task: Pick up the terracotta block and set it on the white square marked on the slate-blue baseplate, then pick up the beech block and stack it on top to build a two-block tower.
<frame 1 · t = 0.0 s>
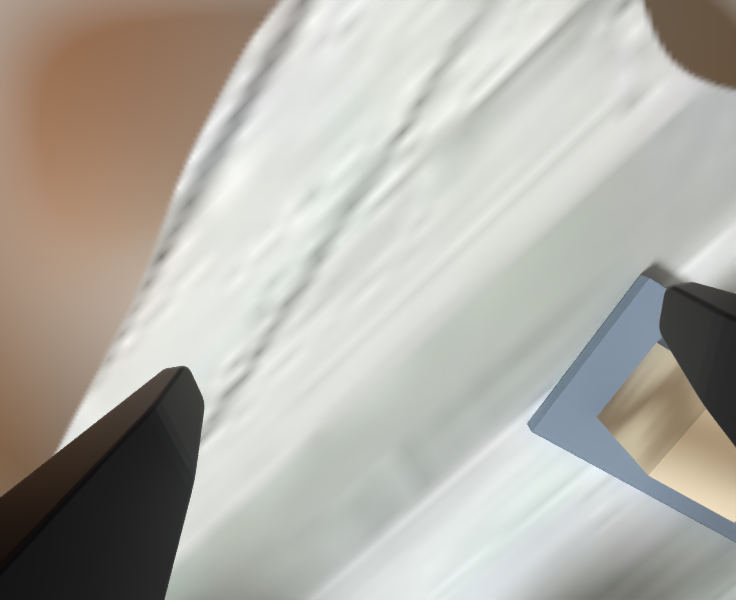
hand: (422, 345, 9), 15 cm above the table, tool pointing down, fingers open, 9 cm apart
beech block: (662, 402, 26), point 1 cm above the table, touching baseplate
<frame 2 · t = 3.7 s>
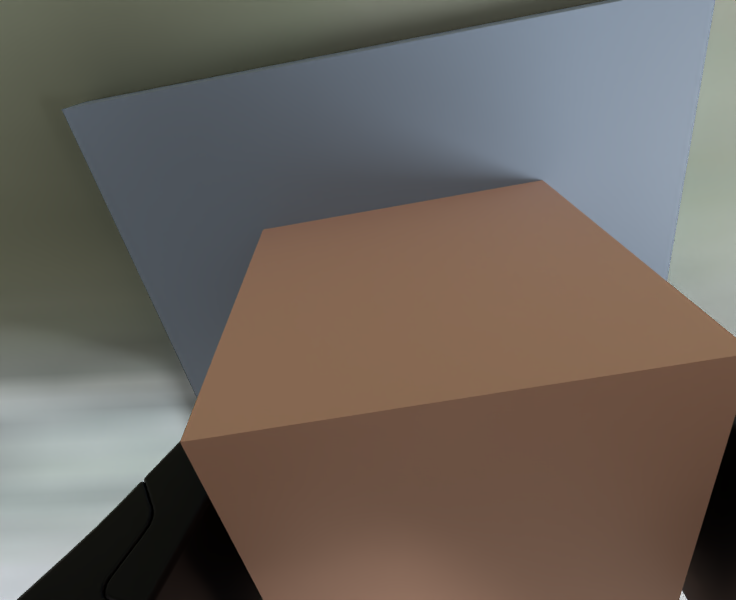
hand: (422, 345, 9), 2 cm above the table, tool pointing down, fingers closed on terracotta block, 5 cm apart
baseplate: (449, 562, 15), on the table
terracotta block: (417, 321, 10), point 1 cm above the table, touching baseplate, gripper
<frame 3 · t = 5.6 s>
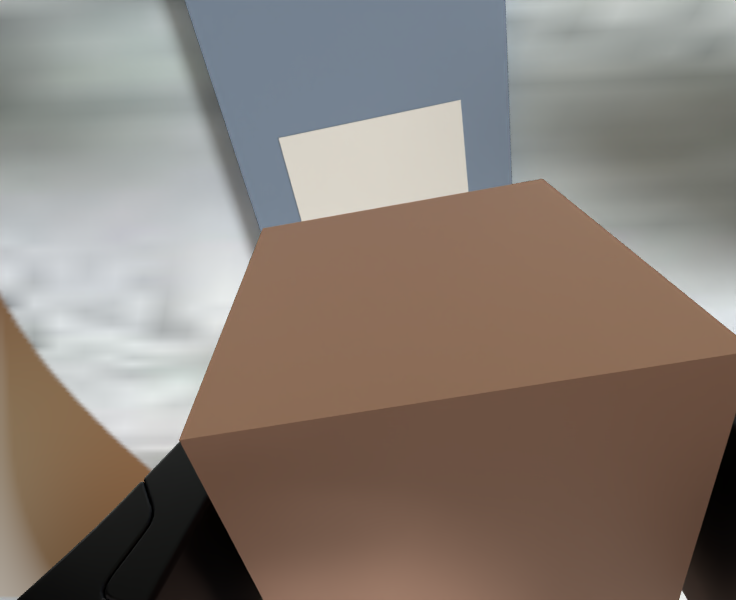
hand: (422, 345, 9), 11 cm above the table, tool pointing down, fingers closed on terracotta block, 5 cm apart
baseplate: (382, 199, 19), on the table
terracotta block: (416, 320, 10), point 11 cm above the table, touching gripper
when the fingers open (3 cm above the table, at t = 7.7 s): terracotta block drops 1 cm, resting on baseplate.
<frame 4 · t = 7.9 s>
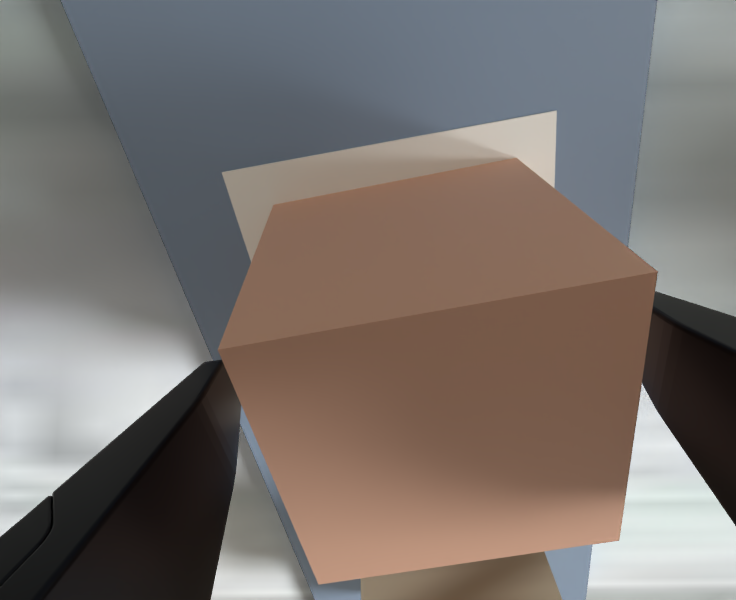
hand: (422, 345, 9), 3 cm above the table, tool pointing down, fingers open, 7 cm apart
beech block: (444, 543, 16), point 1 cm above the table, touching baseplate
baseplate: (403, 271, 12), on the table
terracotta block: (409, 287, 11), point 1 cm above the table, touching baseplate
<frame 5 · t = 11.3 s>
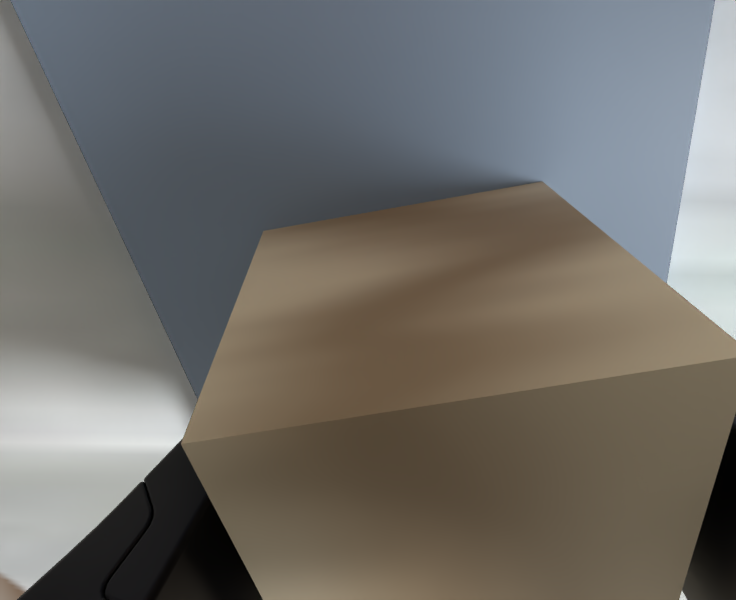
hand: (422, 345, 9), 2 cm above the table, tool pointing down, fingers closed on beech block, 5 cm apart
beech block: (417, 322, 10), point 1 cm above the table, touching baseplate, gripper
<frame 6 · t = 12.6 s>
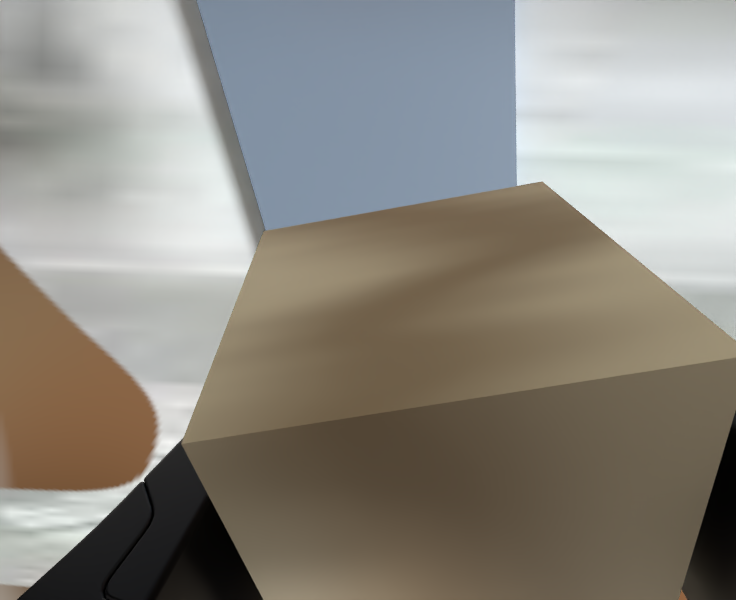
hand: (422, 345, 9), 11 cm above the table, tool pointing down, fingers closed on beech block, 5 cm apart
beech block: (417, 322, 10), point 11 cm above the table, touching gripper
when the fingers open (8 cm above the table, at t = 14.3 s): beech block drops 1 cm, resting on terracotta block.
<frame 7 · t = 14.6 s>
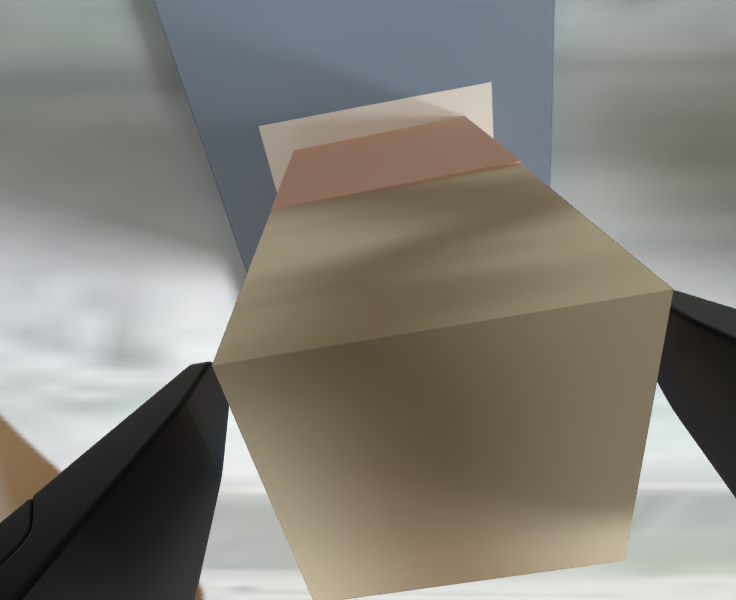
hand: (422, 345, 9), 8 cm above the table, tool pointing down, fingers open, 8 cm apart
beech block: (410, 294, 11), point 6 cm above the table, touching terracotta block
baseplate: (388, 206, 16), on the table
terracotta block: (392, 214, 15), point 1 cm above the table, touching baseplate, beech block
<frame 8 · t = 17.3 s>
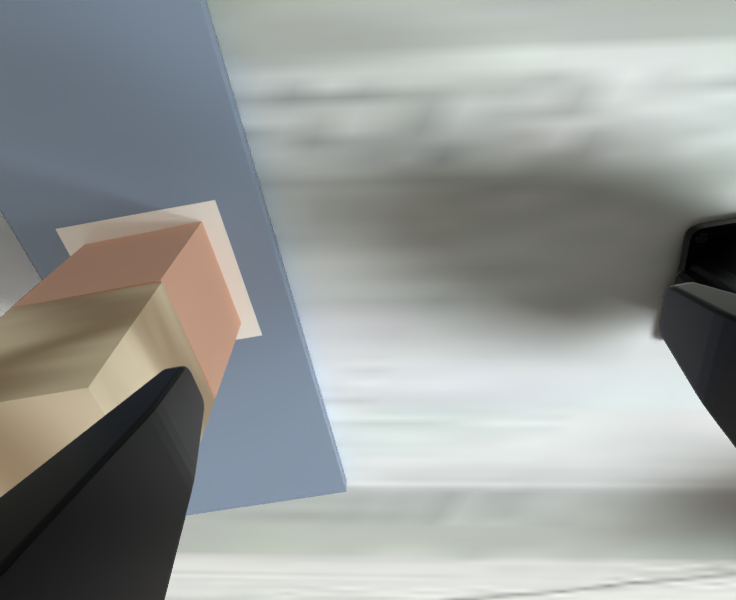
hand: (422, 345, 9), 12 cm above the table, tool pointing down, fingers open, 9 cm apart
beech block: (120, 357, 16), point 6 cm above the table, touching terracotta block
baseplate: (172, 277, 21), on the table
terracotta block: (167, 285, 21), point 1 cm above the table, touching baseplate, beech block
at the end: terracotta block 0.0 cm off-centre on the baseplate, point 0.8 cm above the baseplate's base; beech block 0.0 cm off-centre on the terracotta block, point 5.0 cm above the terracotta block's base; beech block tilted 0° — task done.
